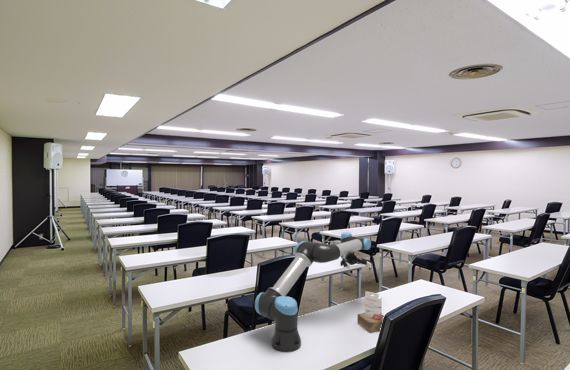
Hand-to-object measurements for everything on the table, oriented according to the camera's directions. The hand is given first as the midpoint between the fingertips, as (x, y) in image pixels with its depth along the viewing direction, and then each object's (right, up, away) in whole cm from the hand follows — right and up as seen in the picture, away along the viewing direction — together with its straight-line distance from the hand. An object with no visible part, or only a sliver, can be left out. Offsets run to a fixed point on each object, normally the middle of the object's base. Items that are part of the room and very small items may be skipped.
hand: (360, 266), depth 197 cm
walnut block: (+5, -32, -11) cm, 35 cm away
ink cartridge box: (+5, -27, -11) cm, 29 cm away
